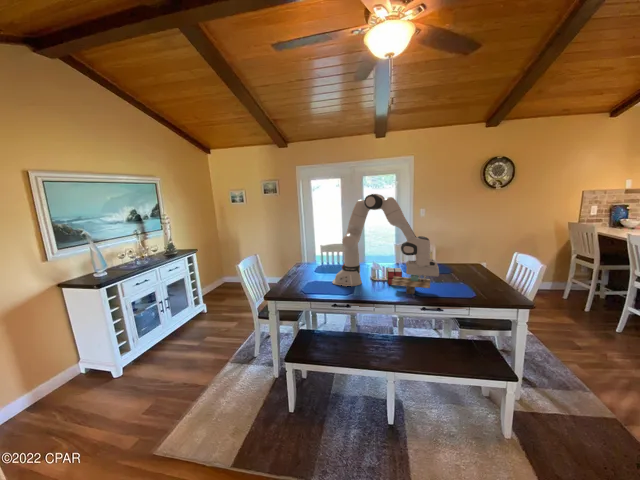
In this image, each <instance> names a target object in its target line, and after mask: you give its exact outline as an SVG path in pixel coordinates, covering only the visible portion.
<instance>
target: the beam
mask: <svg viewBox="0 0 640 480" xmlns="http://www.w3.org/2000/svg"><path fill="white" fill-rule="evenodd" d="M391 286H399V287H400V286H401V287H405V288H406V289H405V291H406V292H405V294H406V295H415V292H416V288H424V289H431V279H430V278H425V280H424V282H420V279H419V277H418V282H417V281H411V277H405V276H404V277H403V276H402V277H393V280H392V285H391Z"/></svg>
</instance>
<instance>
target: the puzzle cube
mask: <svg viewBox="0 0 640 480" xmlns="http://www.w3.org/2000/svg"><path fill="white" fill-rule="evenodd" d="M386 269H387V271H386V272H387V273H386V274H387V276H386V277H387V279H386V280H387V285H391V286H393V285H392V280H393V277H403V271H402V268H401V267H387V268H386Z"/></svg>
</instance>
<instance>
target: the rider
mask: <svg viewBox="0 0 640 480" xmlns="http://www.w3.org/2000/svg"><path fill="white" fill-rule="evenodd" d="M410 278H411V281H417V282H418V278H419V277H418V275H411V274H410Z"/></svg>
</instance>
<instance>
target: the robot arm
mask: <svg viewBox="0 0 640 480" xmlns="http://www.w3.org/2000/svg"><path fill="white" fill-rule="evenodd" d="M371 210H372V211H376V210H381V211H382V212H383V213H384V216H385V218H386V220H387V222H388V223H389V224H390V225H391V226H393V227H396V228H398V229H400V231H401V232H402V234H403V235H404V237H405V240H406V241H404V242H403V243H402V244H401V246H400V250H401V253H402V254H403V255H404V256H415V260H407V261H406V262H405V266H406V272H405V273H406V274H407V275H410V276H411V275H418V278H419V279H420V282H424V280H425V279H427V277H439V276H440V269H439V265H438V261H437V260H436V259H433V258H431V256H430V252H431V241H430V239H429V238H428V237H425V236H422V235H421V236H416V234H415V232H414V231H413V229H412V227H411V225H410V224H409V222H408V220H407V219H406V217H405V215H404V213H403V211H402V209H401V206H400V205H399V203H398V201H397V200H396V199H395V198H394V197H392V196H389V197H386V198H385V197H384V196H383V195H382V194H378V193H370V194H367V196H365V198H364V199H358V200H357V201H356V202H355V204H354V207H353V209H352V211H351V214H350V218H349V220H348V225H347V230H346V234H345V235H344V236H343V237H342V241H341V242H342V249H343V254H344V255H343V256H344V263H343V264H342V266H341V270H340V271H338V272H337V273H336V274H335V278H334V279H332V282H331V283H333V284H332V285H336V286H341V285H342V287H347V286H351V287H356V286H360V285H361V284H363V282H362V278H361V264H360V253H359V242H360V240H361V236H362V233H363V230H364V226H365V223H366V220H367V216H368V214H369V212H370V211H371ZM421 276H423V278H421Z"/></svg>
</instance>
